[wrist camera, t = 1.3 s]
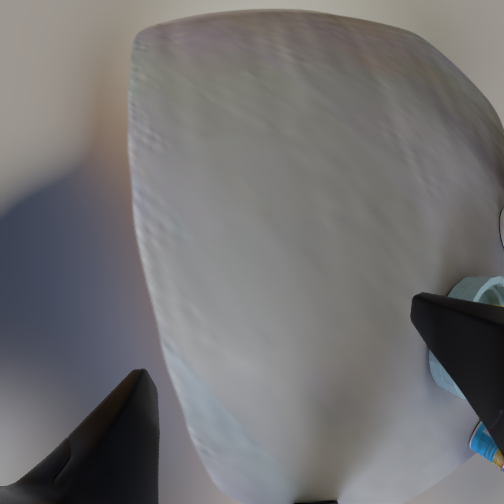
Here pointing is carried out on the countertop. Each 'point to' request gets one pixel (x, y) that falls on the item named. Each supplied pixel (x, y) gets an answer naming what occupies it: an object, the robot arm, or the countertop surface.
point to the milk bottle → (502, 226)
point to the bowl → (475, 290)
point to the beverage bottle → (486, 446)
